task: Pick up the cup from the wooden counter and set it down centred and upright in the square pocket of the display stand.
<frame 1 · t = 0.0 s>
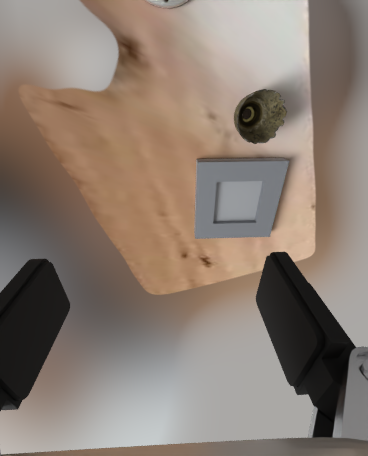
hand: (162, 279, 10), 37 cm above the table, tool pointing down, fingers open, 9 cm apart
display stand: (235, 198, 48), on the table
cup: (246, 113, 39), on the table
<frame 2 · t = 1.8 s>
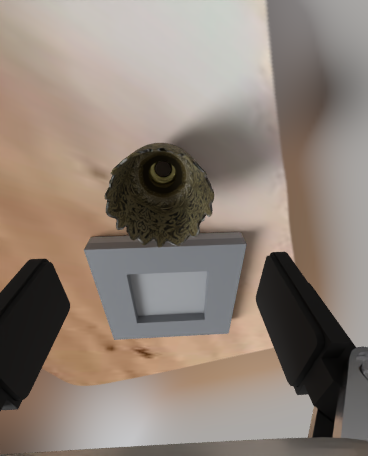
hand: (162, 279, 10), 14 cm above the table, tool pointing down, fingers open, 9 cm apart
display stand: (169, 285, 31), on the table
cup: (163, 168, 21), on the table
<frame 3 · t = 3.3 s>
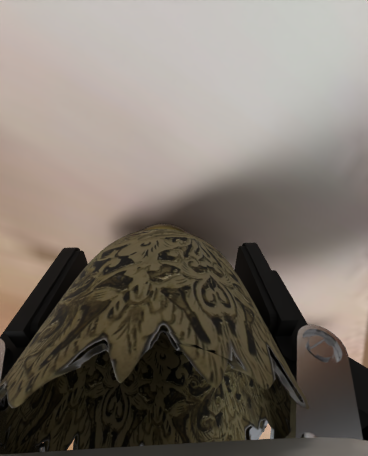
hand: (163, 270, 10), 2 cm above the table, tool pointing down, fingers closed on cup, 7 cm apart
cup: (164, 244, 12), on the table, touching gripper
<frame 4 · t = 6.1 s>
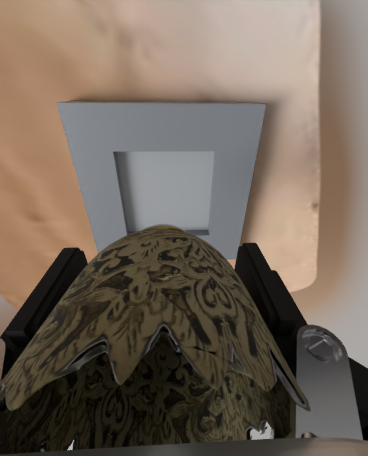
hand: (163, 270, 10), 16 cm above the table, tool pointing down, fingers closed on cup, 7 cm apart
display stand: (167, 190, 25), on the table
cup: (164, 244, 12), point 14 cm above the table, touching gripper
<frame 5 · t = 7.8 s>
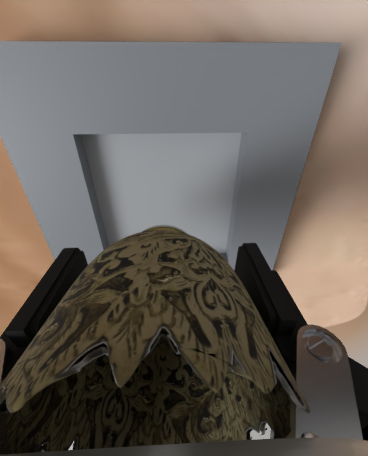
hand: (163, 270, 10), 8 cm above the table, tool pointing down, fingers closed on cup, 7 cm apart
display stand: (166, 196, 17), on the table
cup: (164, 245, 12), point 6 cm above the table, touching gripper
when the fingers open (4 cm above the table, at t = 9.2 s): cup stays where it is, resting on display stand.
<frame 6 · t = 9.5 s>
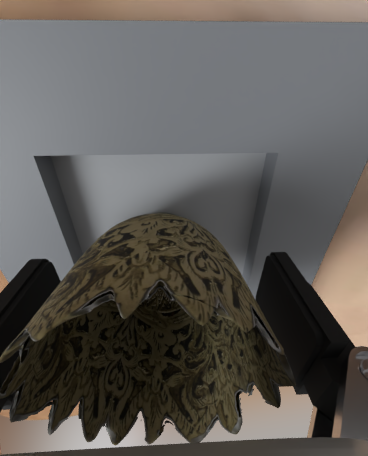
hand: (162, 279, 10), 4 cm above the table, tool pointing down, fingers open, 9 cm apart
display stand: (165, 226, 13), on the table
cup: (163, 232, 12), point 1 cm above the table, touching display stand
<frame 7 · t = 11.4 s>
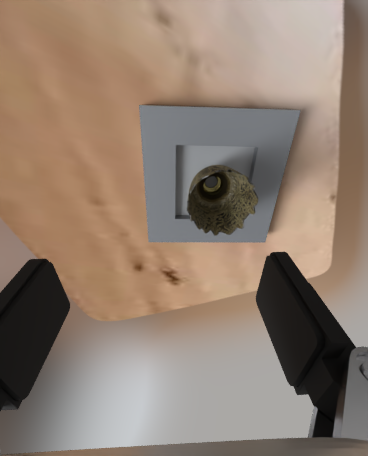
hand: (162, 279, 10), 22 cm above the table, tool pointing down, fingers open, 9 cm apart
display stand: (210, 180, 30), on the table
cup: (211, 181, 29), point 1 cm above the table, touching display stand
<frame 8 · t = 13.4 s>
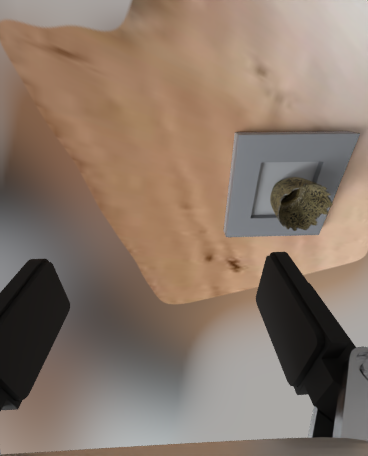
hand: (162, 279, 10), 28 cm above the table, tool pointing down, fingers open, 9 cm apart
display stand: (278, 186, 38), on the table
cup: (280, 187, 37), point 1 cm above the table, touching display stand
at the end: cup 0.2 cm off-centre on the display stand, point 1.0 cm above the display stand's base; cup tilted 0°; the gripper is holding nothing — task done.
